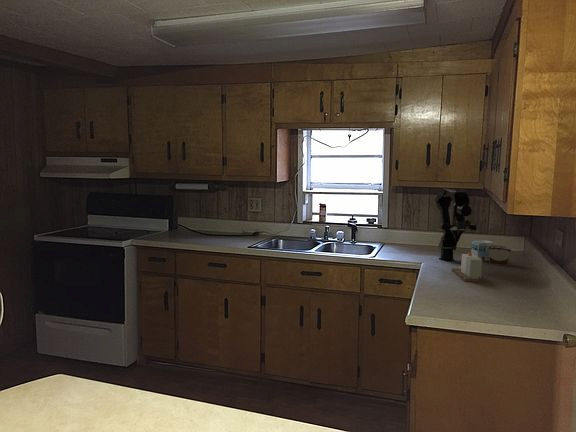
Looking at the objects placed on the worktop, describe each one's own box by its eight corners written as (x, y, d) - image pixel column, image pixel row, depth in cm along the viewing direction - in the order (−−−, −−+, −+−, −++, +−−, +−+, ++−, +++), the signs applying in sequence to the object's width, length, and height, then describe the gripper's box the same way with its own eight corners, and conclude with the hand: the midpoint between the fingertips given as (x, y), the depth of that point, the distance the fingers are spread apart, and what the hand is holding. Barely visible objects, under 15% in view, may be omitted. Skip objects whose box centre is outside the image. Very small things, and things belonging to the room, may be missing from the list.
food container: (511, 264, 273) (512, 246, 272) (510, 266, 268) (511, 248, 267) (488, 261, 279) (489, 244, 278) (486, 263, 274) (487, 246, 273)
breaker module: (460, 271, 247) (462, 251, 246) (471, 271, 247) (473, 251, 245) (465, 274, 240) (466, 254, 239) (476, 274, 240) (477, 254, 238)
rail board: (451, 270, 255) (452, 266, 255) (470, 271, 255) (471, 266, 254) (464, 281, 234) (464, 276, 234) (485, 281, 234) (485, 276, 233)
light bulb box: (477, 261, 280) (478, 242, 278) (470, 258, 286) (471, 240, 285) (493, 260, 282) (494, 242, 281) (485, 257, 289) (486, 240, 288)
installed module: (465, 274, 240) (466, 256, 239) (476, 275, 240) (477, 257, 238) (469, 277, 234) (470, 259, 233) (481, 278, 234) (482, 259, 232)
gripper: (445, 215, 257) (443, 244, 259) (481, 216, 256) (479, 245, 258) (439, 213, 268) (438, 240, 270) (473, 213, 267) (472, 241, 269)
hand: (456, 242), depth 267 cm, fingers closed
